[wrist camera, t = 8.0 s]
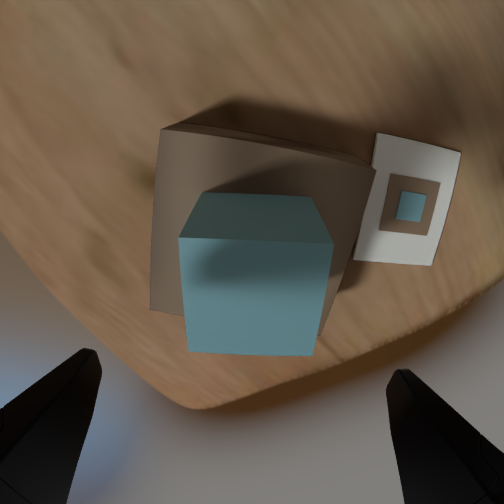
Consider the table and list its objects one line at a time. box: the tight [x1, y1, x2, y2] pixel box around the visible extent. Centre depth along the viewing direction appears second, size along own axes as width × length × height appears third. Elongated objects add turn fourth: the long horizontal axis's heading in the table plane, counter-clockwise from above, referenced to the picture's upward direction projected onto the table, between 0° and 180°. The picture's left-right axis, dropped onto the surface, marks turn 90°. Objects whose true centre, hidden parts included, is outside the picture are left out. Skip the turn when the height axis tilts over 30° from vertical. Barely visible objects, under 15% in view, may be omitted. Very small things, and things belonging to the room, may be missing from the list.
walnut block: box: [150, 122, 377, 336], centre depth 18 cm, size 10×10×4 cm
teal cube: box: [178, 192, 334, 356], centre depth 14 cm, size 5×5×5 cm
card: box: [352, 132, 461, 266], centre depth 18 cm, size 6×8×1 cm
